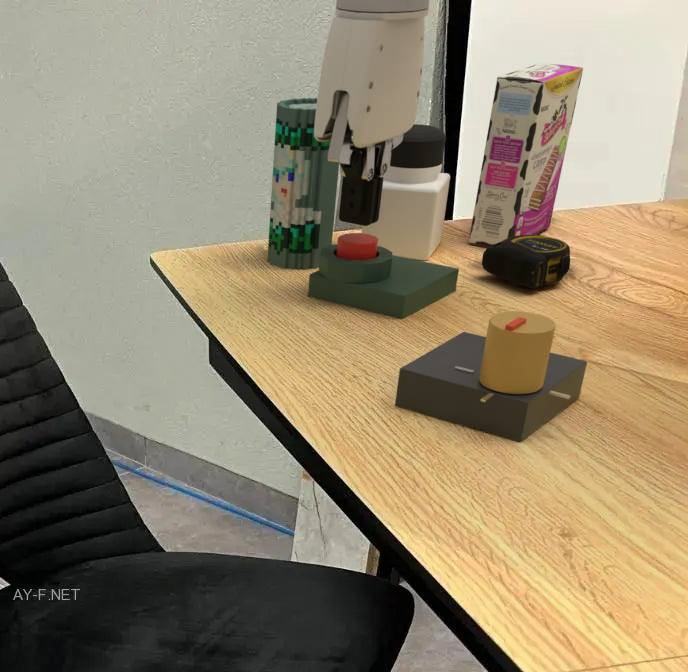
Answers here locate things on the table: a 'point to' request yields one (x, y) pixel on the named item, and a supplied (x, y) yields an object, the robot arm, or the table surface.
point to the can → (300, 189)
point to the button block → (381, 282)
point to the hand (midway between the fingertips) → (358, 221)
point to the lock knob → (516, 352)
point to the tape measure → (528, 260)
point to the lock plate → (484, 390)
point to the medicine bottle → (413, 196)
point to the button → (357, 246)
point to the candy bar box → (524, 152)
